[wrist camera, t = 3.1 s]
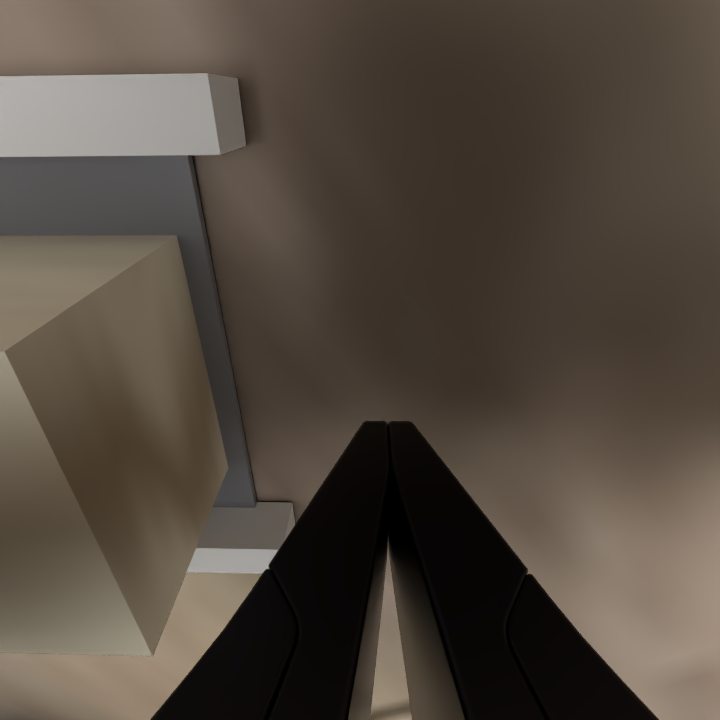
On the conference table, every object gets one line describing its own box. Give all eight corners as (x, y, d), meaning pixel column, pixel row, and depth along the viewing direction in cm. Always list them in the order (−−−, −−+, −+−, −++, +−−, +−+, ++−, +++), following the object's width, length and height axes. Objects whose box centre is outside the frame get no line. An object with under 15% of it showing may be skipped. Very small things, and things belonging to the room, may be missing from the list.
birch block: (228, 467, 11) (152, 656, 8) (3, 464, 12) (-184, 647, 8) (177, 234, 8) (4, 351, 4) (-128, 236, 9) (-549, 348, 5)
